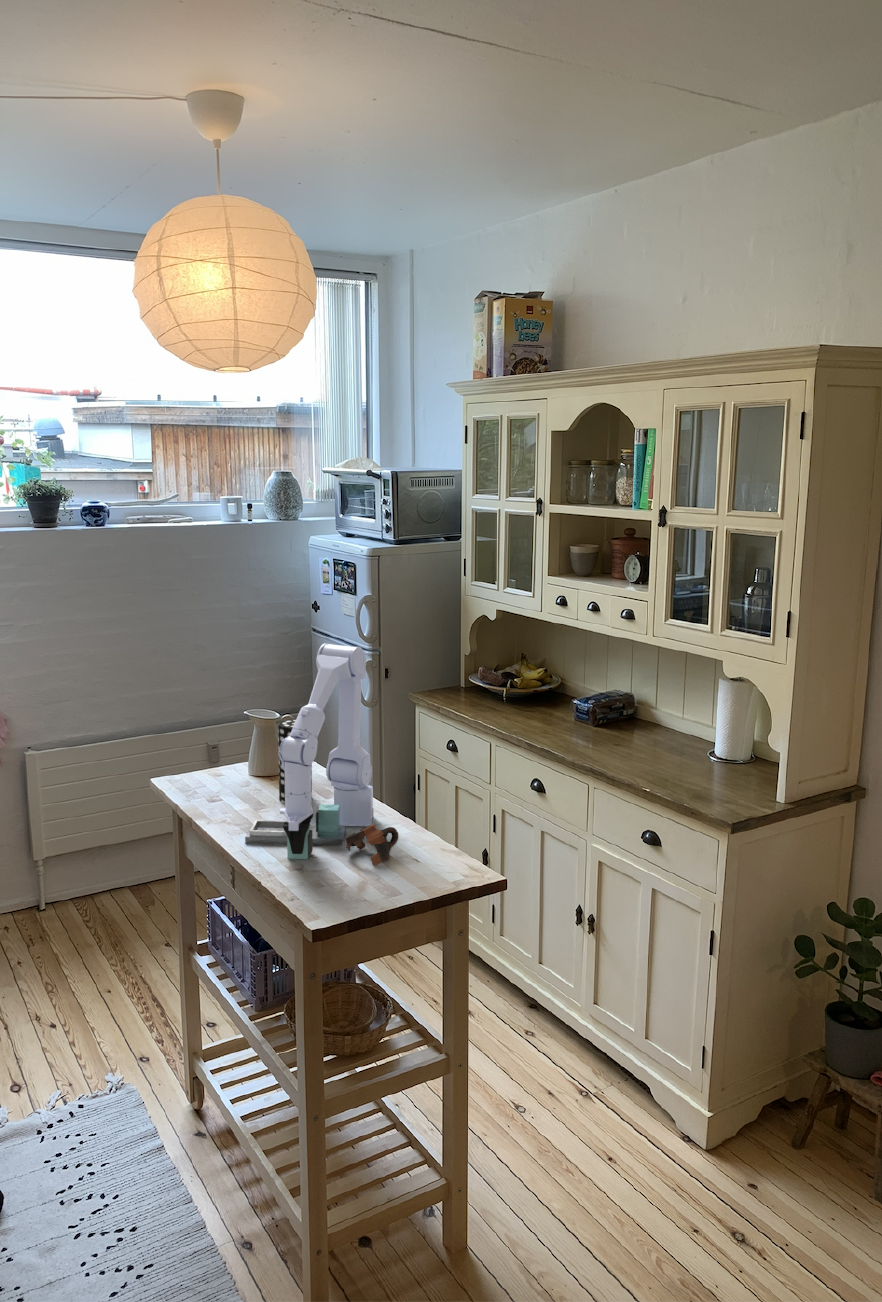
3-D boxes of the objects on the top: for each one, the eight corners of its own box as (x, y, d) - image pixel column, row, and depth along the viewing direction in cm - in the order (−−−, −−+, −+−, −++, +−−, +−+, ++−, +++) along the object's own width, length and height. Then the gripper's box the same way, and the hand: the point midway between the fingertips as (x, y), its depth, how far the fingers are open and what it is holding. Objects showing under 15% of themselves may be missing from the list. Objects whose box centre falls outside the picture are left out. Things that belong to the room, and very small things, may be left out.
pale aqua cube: (287, 858, 212) (287, 832, 211) (290, 852, 215) (289, 826, 214) (310, 859, 212) (310, 833, 211) (312, 852, 215) (312, 827, 214)
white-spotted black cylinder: (293, 807, 242) (292, 730, 238) (272, 798, 248) (271, 723, 244) (318, 799, 248) (318, 723, 244) (298, 791, 254) (297, 717, 250)
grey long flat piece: (346, 831, 227) (346, 801, 226) (342, 845, 219) (342, 814, 218) (252, 829, 227) (251, 799, 226) (245, 843, 220) (244, 812, 218)
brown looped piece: (364, 873, 207) (348, 837, 208) (350, 875, 215) (335, 841, 216) (411, 848, 212) (395, 814, 213) (396, 852, 221) (381, 818, 221)
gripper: (285, 779, 218) (285, 836, 220) (273, 802, 203) (274, 862, 206) (316, 779, 218) (316, 836, 220) (307, 802, 203) (308, 863, 206)
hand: (298, 849), depth 213 cm, fingers closed on pale aqua cube, 4 cm apart
